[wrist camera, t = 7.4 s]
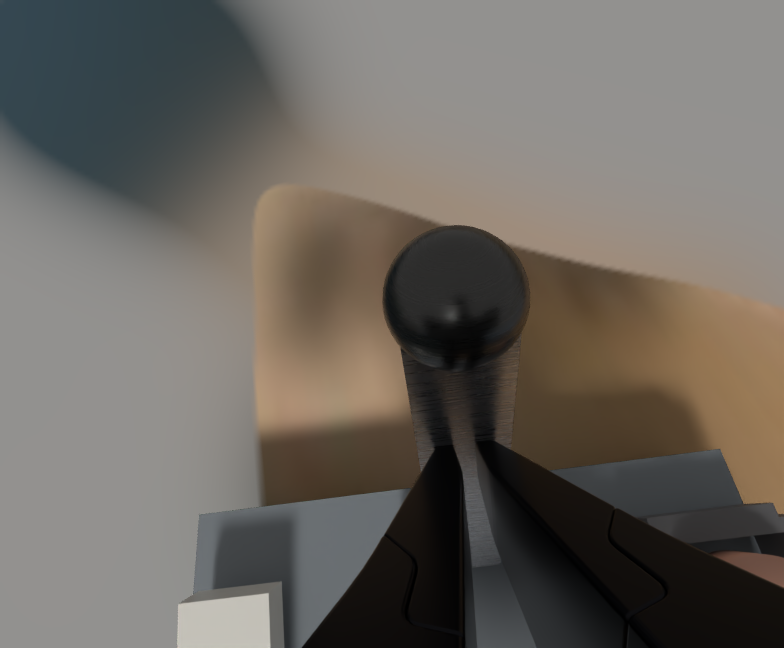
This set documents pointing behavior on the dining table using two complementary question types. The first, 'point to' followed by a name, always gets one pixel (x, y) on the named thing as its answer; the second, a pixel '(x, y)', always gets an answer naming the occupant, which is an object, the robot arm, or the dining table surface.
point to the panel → (490, 583)
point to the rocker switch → (233, 618)
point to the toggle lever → (459, 350)
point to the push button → (756, 564)
